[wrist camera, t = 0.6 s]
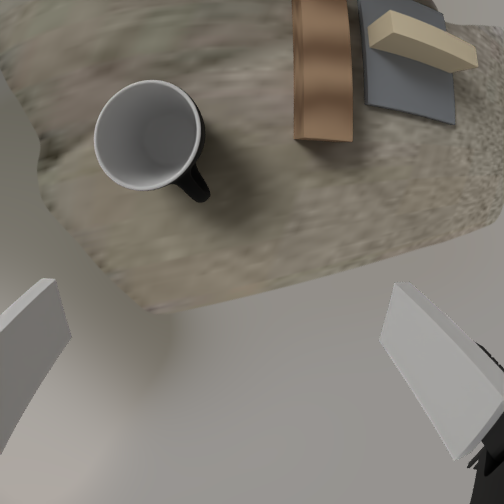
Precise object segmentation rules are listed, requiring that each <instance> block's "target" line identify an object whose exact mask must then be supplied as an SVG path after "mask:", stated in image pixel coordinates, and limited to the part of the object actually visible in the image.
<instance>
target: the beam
mask: <svg viewBox="0 0 504 504" xmlns="http://www.w3.org/2000/svg"><path fill="white" fill-rule="evenodd" d="M292 18H293V53H294V139H299V140H315V141H328V142H353V85H352V60H351V44H350V31H349V20H348V10H347V1H346V0H292Z"/></svg>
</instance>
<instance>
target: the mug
mask: <svg viewBox="0 0 504 504" xmlns="http://www.w3.org/2000/svg"><path fill="white" fill-rule="evenodd" d="M204 141H205V127H204V122H203V118H202V115H201V113H200V111H199V109H198V107H197V105H196V104H195V102H194V101H193V100H192V98H191V97H190V96H189V95H188V94H187V93H186V92H185V91H183V90H182V89H181V88H179V87H177V86H176V85H173V84H171V83H168V82H165V81H160V80H145V81H140V82H136V83H133V84H131V85H128V86H127V87H125V88H123V89H122V90H120V91H119V92H117V93H116V94H115V95H114V96H113V97H112V98H111V99H110V100H109V101H108V102H107V104H106V105H105V106H104V108H103V110H102V111H101V113H100V115H99V118H98V120H97V123H96V127H95V133H94V148H95V153H96V157H97V159H98V162H99V164H100V166H101V168H102V169H103V171H104V172H105V173H106V174H107V176H108V177H109V178H110V179H112V180H113V181H114V182H116V183H117V184H119V185H121V186H123V187H125V188H128V189H132V190H138V191H149V190H155V189H159V188H162V187H164V186H167V185H169V184H176V185H178V186H179V187H180V188H182V189H183V190H184V191H185V192H186V193H187V194H188V195H189V196H190V197H191V198H192V199H193V200H195V201H196V202H199V203H202V202H205V201H206V200H207V199H208V198H209V197H210V191H209V188H208V186H207V184H206V182H205V181H204V179H203V177H202V176H201V174H200V173H199V171H198V169H197V167H196V161H197V159H198V158H199V156H200V154H201V152H202V149H203V146H204Z"/></svg>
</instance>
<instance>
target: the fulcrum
mask: <svg viewBox="0 0 504 504" xmlns="http://www.w3.org/2000/svg"><path fill="white" fill-rule="evenodd" d="M357 3H358V11H359V19H360V28H361V39H362V52H363V68H364V94H365V105H370V106H376V107H381V108H386V109H391V110H396V111H401V112H405V113H409V114H414V115H418V116H422V117H425V118H429V119H433V120H437V121H440V122H444V123H447V124H450V125H455V100H454V85H453V74H452V73H453V72H458V71H463V70H468V69H473V68H478V61H477V55H476V49H475V46H473V45H471V44H469V43H467V42H465V41H464V40H462V39H460V38H458V37H456V36H454V35H452V34H450V33H447V31H446V26H445V21H444V17H443V14H442V13H440V12H438V11H436V10H434V9H431V8H429V7H427V6H425V5H422V4H420V3H418V2H415V1H413V0H357Z"/></svg>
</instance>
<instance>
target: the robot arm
mask: <svg viewBox="0 0 504 504" xmlns="http://www.w3.org/2000/svg"><path fill="white" fill-rule="evenodd" d="M71 338H72V336H71V333H70V329H69V326H68V323H67V320H66V316H65V313H64V309H63V306H62V302H61V298H60V294H59V290H58V286H57V282H56V279H46V278H42V279H41V280H40V281H38V282H37V283H36V284H35V285H33V286H32V287H31V288H30V289H29V290H28V291H27V292H25V293H24V294H23V295H22V296H21V297H20V298H19V299H17V300H16V301H15V302H14V303H13V304H12V305H11V306H10V307H9V308H8V309H6V310H5V311H4V312H3V313H2V314H1V315H0V454H2V452H3V450H4V448H5V446H6V444H7V442H8V440H9V438H10V436H11V434H12V432H13V431H14V429H15V427H16V425H17V423H18V422H19V420H20V418H21V416H22V414H23V413H24V411H25V409H26V407H27V406H28V404H29V402H30V401H31V399H32V397H33V396H34V394H35V393H36V390H37V389H38V388H39V386H40V384H41V382H42V381H43V380H44V378H45V377H46V375H47V373H48V372H49V370H50V369H51V367H52V366H53V364H54V363H55V361H56V360H57V358H58V357H59V355H60V354H61V352H62V351H63V349H64V348H65V347H66V345H67V344H68V342H69V341H70V339H71ZM379 341H380V343H381V344H382V346H383V347H384V349H385V350H386V352H387V353H388V355H389V356H390V358H391V359H392V361H393V362H394V364H395V365H396V367H397V368H398V370H399V372H400V373H401V375H402V376H403V378H404V379H405V381H406V382H407V384H408V385H409V387H410V389H411V390H412V391H413V393H414V395H415V396H416V398H417V400H418V401H419V403H420V405H421V406H422V408H423V409H424V411H425V413H426V414H427V416H428V417H429V419H430V421H431V423H432V424H433V426H434V428H435V429H436V431H437V433H438V434H439V436H440V438H441V439H442V441H443V443H444V445H445V446H446V448H447V450H448V452H449V453H450V455H451V457H452V459H453V461H456V460H458V459H460V458H462V457H464V456H465V455H468V454H469V453H471V452H472V451H473V450H474V449H475V448H476V446H477V445H478V444H479V443H480V442H481V441H482V442H483V444H484V447H483V448H482V449H481V450H480V451H479V452H478V454H477V455H476V456H475V457H474V458H473V459H472V460H471V461H470V462H469V464H468V466H467V468H470V467H471V466H472V465H473V464H474V463H475V462H476V461H477V460H478V459H479V460H478V463H477V464H476V465H475V467H474V468H473V469H476V470H477V473H476V478H475V484H474V488H473V494H472V498H471V502H470V504H504V368H503V367H502V366H501V365H498V362H497V361H496V360H495V359H494V358H493V357H491V355H490V354H489V353H488V352H487V351H486V349H485V348H484V347H483V346H481V345H479V344H478V343H476V342H474V341H473V340H472V339H471V338H470V337H469V336H468V335H467V334H466V333H465V332H464V331H463V330H462V329H461V328H460V327H459V326H458V325H457V324H456V323H455V322H453V321H452V320H451V319H450V318H449V317H448V316H447V315H446V314H445V313H444V312H443V311H442V310H441V309H439V308H438V307H437V306H436V305H435V304H434V303H433V302H432V301H431V300H430V299H429V298H427V297H426V296H425V295H424V294H423V293H422V292H421V291H420V290H419V289H417V288H416V287H415V286H414V285H413V284H412V283H411V282H395V283H394V286H393V291H392V295H391V299H390V303H389V307H388V310H387V314H386V318H385V321H384V324H383V328H382V331H381V335H380V338H379Z"/></svg>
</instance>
